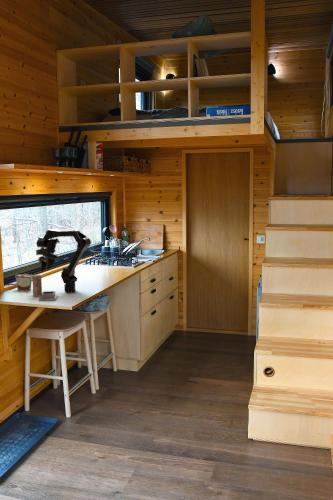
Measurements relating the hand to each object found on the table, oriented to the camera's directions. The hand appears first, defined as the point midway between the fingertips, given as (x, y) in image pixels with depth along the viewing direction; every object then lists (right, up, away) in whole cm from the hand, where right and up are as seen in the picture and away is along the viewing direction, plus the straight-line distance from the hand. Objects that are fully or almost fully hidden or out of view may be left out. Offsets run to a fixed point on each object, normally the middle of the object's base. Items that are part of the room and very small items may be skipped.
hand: (44, 270), depth 319 cm
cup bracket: (+6, -17, -14) cm, 23 cm away
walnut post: (-3, -16, -6) cm, 17 cm away
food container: (-15, -14, +12) cm, 23 cm away
